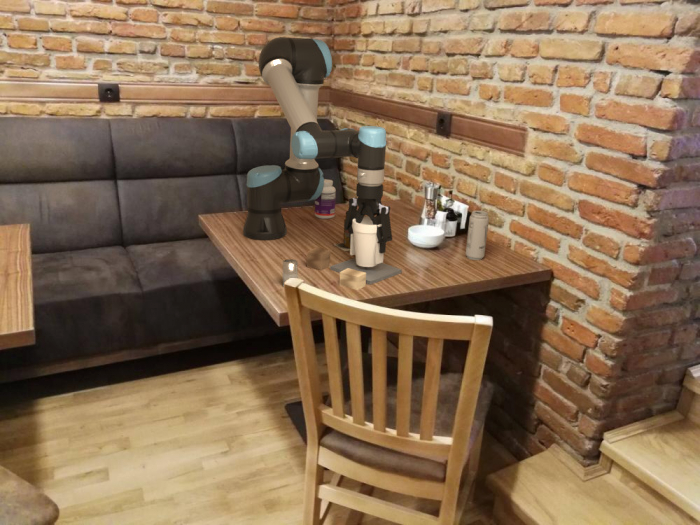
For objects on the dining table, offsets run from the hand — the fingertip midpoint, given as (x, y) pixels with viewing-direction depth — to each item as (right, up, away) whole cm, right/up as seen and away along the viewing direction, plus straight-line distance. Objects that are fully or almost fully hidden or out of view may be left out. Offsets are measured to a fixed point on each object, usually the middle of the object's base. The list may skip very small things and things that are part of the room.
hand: (366, 258), depth 164 cm
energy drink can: (+36, 0, +16) cm, 39 cm away
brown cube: (-14, -3, +4) cm, 15 cm away
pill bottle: (-15, +17, +56) cm, 60 cm away
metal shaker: (-21, -8, -11) cm, 25 cm away
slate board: (0, -4, +1) cm, 4 cm away
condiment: (-5, +4, +23) cm, 23 cm away
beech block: (-4, -8, -9) cm, 13 cm away
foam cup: (0, -2, +1) cm, 2 cm away
